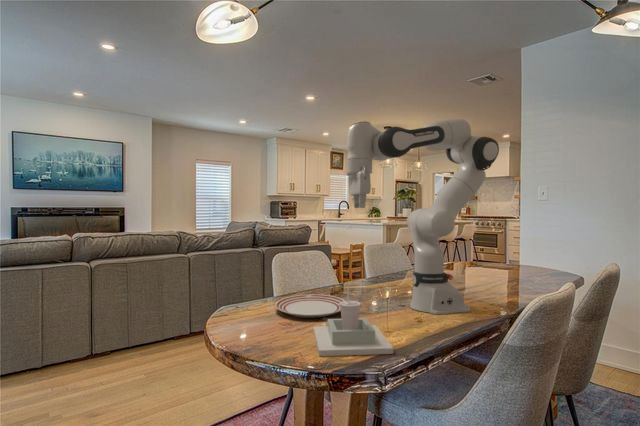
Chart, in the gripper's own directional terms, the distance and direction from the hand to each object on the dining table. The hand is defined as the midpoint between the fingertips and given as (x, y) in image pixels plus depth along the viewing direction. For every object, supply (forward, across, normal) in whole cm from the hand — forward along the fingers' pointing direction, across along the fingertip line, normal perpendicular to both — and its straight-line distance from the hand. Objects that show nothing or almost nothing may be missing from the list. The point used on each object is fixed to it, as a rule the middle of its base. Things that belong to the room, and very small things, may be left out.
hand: (359, 208), depth 131 cm
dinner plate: (+40, +12, +16) cm, 44 cm away
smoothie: (+38, -22, +7) cm, 44 cm away
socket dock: (+39, -22, +7) cm, 45 cm away
